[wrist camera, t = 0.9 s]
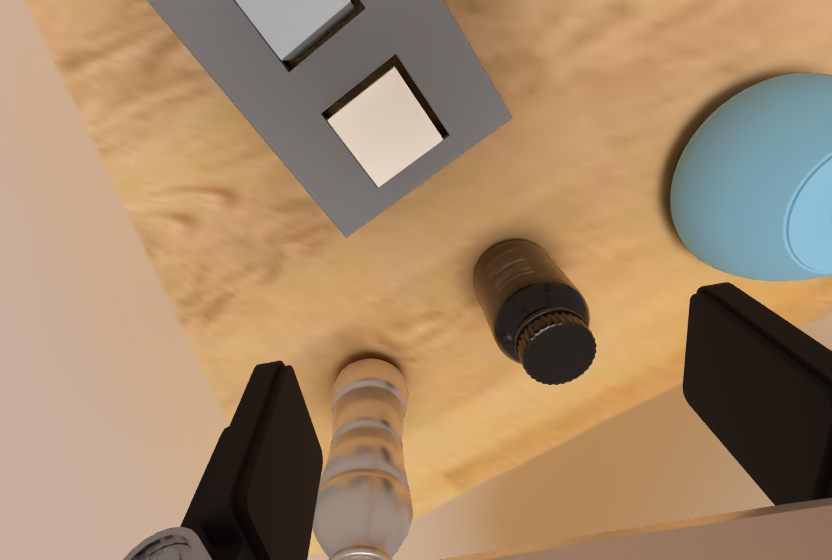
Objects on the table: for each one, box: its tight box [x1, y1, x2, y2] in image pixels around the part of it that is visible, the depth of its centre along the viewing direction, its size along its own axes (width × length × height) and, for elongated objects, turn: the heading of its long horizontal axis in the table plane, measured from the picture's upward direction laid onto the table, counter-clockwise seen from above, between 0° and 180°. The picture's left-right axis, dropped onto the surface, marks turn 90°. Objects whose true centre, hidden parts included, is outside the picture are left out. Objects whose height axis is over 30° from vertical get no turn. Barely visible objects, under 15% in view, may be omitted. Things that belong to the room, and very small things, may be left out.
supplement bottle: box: [474, 240, 596, 385], centre depth 35 cm, size 7×7×12 cm
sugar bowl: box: [670, 73, 832, 281], centre depth 33 cm, size 15×15×12 cm
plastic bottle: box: [313, 359, 413, 560], centre depth 35 cm, size 6×7×20 cm
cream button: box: [327, 66, 443, 188], centre depth 31 cm, size 5×5×4 cm
